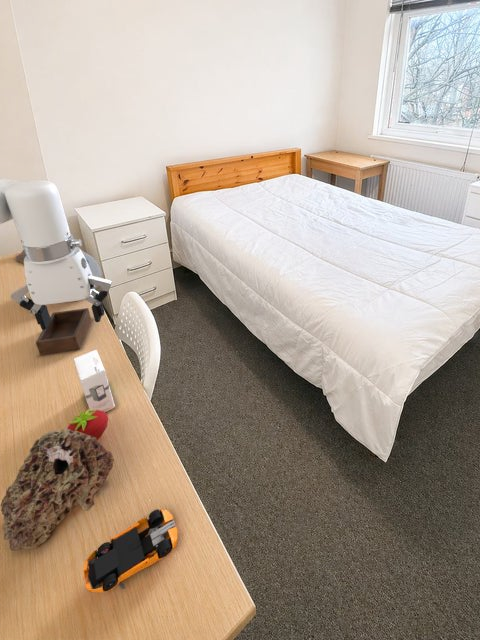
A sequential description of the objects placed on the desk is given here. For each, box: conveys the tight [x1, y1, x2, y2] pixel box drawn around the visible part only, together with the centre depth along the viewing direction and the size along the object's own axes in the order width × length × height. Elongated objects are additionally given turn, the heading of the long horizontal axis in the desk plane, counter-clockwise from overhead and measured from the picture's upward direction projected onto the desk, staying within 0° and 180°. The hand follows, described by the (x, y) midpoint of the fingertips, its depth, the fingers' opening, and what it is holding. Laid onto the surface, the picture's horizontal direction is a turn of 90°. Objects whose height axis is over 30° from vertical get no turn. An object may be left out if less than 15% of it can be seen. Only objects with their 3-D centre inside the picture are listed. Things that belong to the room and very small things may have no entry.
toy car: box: [82, 508, 178, 594], centre depth 56 cm, size 12×12×3 cm
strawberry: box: [66, 408, 109, 442], centre depth 71 cm, size 6×8×10 cm
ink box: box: [73, 349, 116, 413], centre depth 80 cm, size 9×5×12 cm, turn 40°
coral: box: [0, 428, 115, 551], centre depth 62 cm, size 18×13×15 cm
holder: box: [35, 307, 92, 357], centre depth 102 cm, size 10×14×5 cm
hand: (73, 321), depth 72 cm, fingers open, 9 cm apart
